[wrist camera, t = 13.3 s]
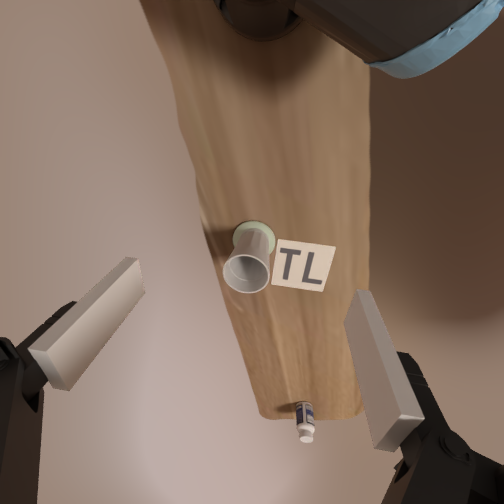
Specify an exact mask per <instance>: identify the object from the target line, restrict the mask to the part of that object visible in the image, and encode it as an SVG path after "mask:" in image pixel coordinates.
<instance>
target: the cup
mask: <svg viewBox="0 0 504 504" xmlns="http://www.w3.org/2000/svg"><path fill="white" fill-rule="evenodd" d="M223 277H224V279H225V281H226V283H227V284H228V285H229V286H230V287H231V288H233V289H234V290H236V291H239V292H242V293H255V292H258V291H260V290H262V289H263V288H264V287H265V286H266V285H267V284H268V281H269V277H270V273H269V238H268V236H267V234H266V233H265V232H264V231H262V230H261V229H258V228H250V229H247V230H245V231H244V232H243V233H242V234H241V236H240V239H239V241H238V243H237V244H236V246H235V248H234V250H233V251H232V253H231V255H230V256H229V258H228V259H227V261H226V263H225V265H224V267H223Z"/></svg>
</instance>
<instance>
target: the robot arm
mask: <svg viewBox="0 0 504 504" xmlns="http://www.w3.org/2000/svg"><path fill="white" fill-rule="evenodd" d="M214 2H215V4H216V6H217V8H218V10H219V12H220V13H221V15H222V16H223V17H224V19H225V20H226V22H227V23H228V24H229V25H230V26H231V27H232V28H233V29H234V30H235V31H236V32H237V33H239V34H240V35H242V36H244V37H246V38H248V39H251V40H255V41H270V40H275V39H278V38H280V37H282V36H284V35H286V34H287V33H289V32H290V31H292V30H293V29H294V28H295V27H296V26H297V25H298V24H299V23H300V22H301V21H302V20H303V19H304V20H306V21H307V22H308V23H310V24H311V25H313V26H314V27H316V28H317V29H319V30H320V31H322V32H323V33H324V34H326V35H327V36H329V37H330V38H332V39H333V40H335V41H336V42H338V43H339V44H340V45H342V46H343V47H345V48H346V49H348V50H349V51H351V52H352V53H353V54H355V55H356V56H358V57H359V58H361V59H362V60H363V62H364V63H365V64H366V65H369V66H371V67H377V68H379V69H381V70H382V71H384V72H386V73H388V74H389V75H391V76H393V77H396V78H410V77H415V76H418V75H420V74H423V73H425V72H427V71H429V70H431V69H433V68H435V67H436V66H438V65H440V64H441V63H443V62H444V61H446V60H447V59H449V58H450V57H452V56H453V55H454V54H456V53H457V52H458V51H460V50H461V49H462V48H464V47H465V46H466V45H467V44H469V43H470V42H471V41H472V40H473V39H475V38H476V37H477V36H478V35H479V34H480V33H482V31H484V30H485V29H486V28H487V27H488V26H489V25H490V24H491V23H492V22H493V21H494V20H495V19H496V18H497V17H498V15H499V12H500V10H501V9H502V7H504V0H214ZM144 294H145V290H144V284H143V280H142V275H141V270H140V265H139V260H138V259H137V258H131V257H126V258H125V259H123V260H122V261H121V262H120V263H119V264H118V265H117V266H116V267H115V268H114V269H113V270H112V271H111V272H109V274H107V275H106V276H105V277H104V278H103V279H102V280H101V281H100V282H99V283H98V284H97V285H95V286H94V287H93V288H92V289H91V290H90V291H89V292H88V293H87V294H86V295H85V296H84V297H83V298H81V300H79V301H78V302H75V301H72V302H70V303H68V304H66V305H65V306H63V307H61V308H60V309H59V310H58V311H57V312H55V313H54V314H53V315H52V317H50V318H49V319H47V320H46V321H45V323H44V324H42V325H41V326H39V327H38V328H37V329H36V330H35V331H34V332H33V333H32V334H30V335H29V336H28V337H27V338H26V339H25V340H24V341H23V342H22V343H20V344H19V345H18V346H17V347H16V348H15V347H14V345H13V344H12V342H11V341H10V340H9V339H7V338H5V337H0V504H37V493H38V478H39V462H40V447H41V433H42V418H43V403H44V390H43V386H44V385H45V384H46V382H48V381H49V382H50V384H51V386H52V387H53V388H55V389H60V390H66V391H70V389H71V388H72V387H73V386H74V384H75V383H76V382H77V380H78V379H79V378H80V377H81V375H82V374H83V373H84V371H85V370H86V369H87V368H88V366H89V365H90V363H91V362H92V361H93V360H94V358H95V357H96V356H97V354H98V353H99V352H100V351H101V349H102V348H103V347H104V346H105V344H106V343H107V342H108V340H109V339H110V338H111V336H112V335H113V334H114V333H115V331H116V330H117V329H118V327H119V326H120V325H121V323H122V322H123V321H124V320H125V318H126V317H127V316H128V314H129V313H130V312H131V310H132V309H133V308H134V307H135V305H136V304H137V303H138V301H139V300H140V299H141V298H142V296H143V295H144ZM344 326H345V331H346V335H347V339H348V343H349V347H350V351H351V355H352V359H353V363H354V367H355V372H356V376H357V380H358V384H359V388H360V392H361V396H362V400H363V404H364V408H365V413H366V417H367V420H368V425H369V429H370V433H371V437H372V441H373V445H374V448H375V449H379V450H385V451H390V452H395V450H396V449H397V448H398V447H399V446H400V447H401V451H402V453H403V457H404V458H403V459H402V460H401V461H400V462H399V463H398V464H397V465H396V466H395V467H394V469H395V470H396V472H395V475H394V477H393V479H392V481H391V483H390V486H389V488H388V490H387V492H386V494H385V497H384V499H383V501H382V503H381V504H504V465H501V464H499V463H497V462H495V461H493V460H491V459H489V458H487V457H485V456H483V455H481V454H479V453H477V452H475V451H473V450H472V449H470V447H469V446H468V445H467V443H466V442H465V441H464V440H463V439H462V438H461V437H460V436H459V435H458V434H457V433H455V432H453V431H452V430H451V429H450V428H449V426H448V424H447V422H446V420H445V418H444V416H443V414H442V412H441V410H440V408H439V406H438V404H437V402H436V400H435V398H434V396H433V394H432V392H431V390H430V388H428V384H427V382H426V380H425V378H424V377H423V374H422V372H421V370H420V368H419V366H418V364H417V363H416V361H415V360H414V359H413V358H412V357H411V356H410V355H409V354H408V353H402V352H397V351H396V350H395V348H394V345H393V343H392V341H391V338H390V336H389V334H388V331H387V329H386V327H385V324H384V322H383V320H382V317H381V315H380V313H379V310H378V308H377V306H376V303H375V301H374V299H373V296H372V294H371V292H370V291H367V290H360V289H356V292H355V294H354V297H353V300H352V302H351V305H350V307H349V310H348V312H347V315H346V318H345V320H344Z"/></svg>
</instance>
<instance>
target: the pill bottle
mask: <svg viewBox="0 0 504 504" xmlns="http://www.w3.org/2000/svg"><path fill="white" fill-rule="evenodd" d="M296 419H297V430H298V432H299V433H300V434H299V438H300V441H302V442H304V443H310V442H312V441H313V433H314V430H315V428H314V417H313V407H312V405H311V404H310V403H308V402H299V403H297V405H296Z"/></svg>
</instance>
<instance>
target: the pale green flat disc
mask: <svg viewBox="0 0 504 504" xmlns="http://www.w3.org/2000/svg"><path fill="white" fill-rule="evenodd" d="M250 228H258V229H261V230H262V231H264V232H265V233H266V234H267V236H268V238H269V254H270V253H271V252H272V251H273V249H274V246H275V235H274V233H273V231H272V230H271V228H270V227H269V226H267V225H266V224H264V223H262V222H259V221H247V222H244V223H242V224H240V225H239V226H238V227H237V228H236V230H235V232H234V235H233V245H234V247H235V246H236V244H237V243H238V241H239V239H240V236H241V234H242V233H243V232H244V231H245V230H247V229H250Z"/></svg>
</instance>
